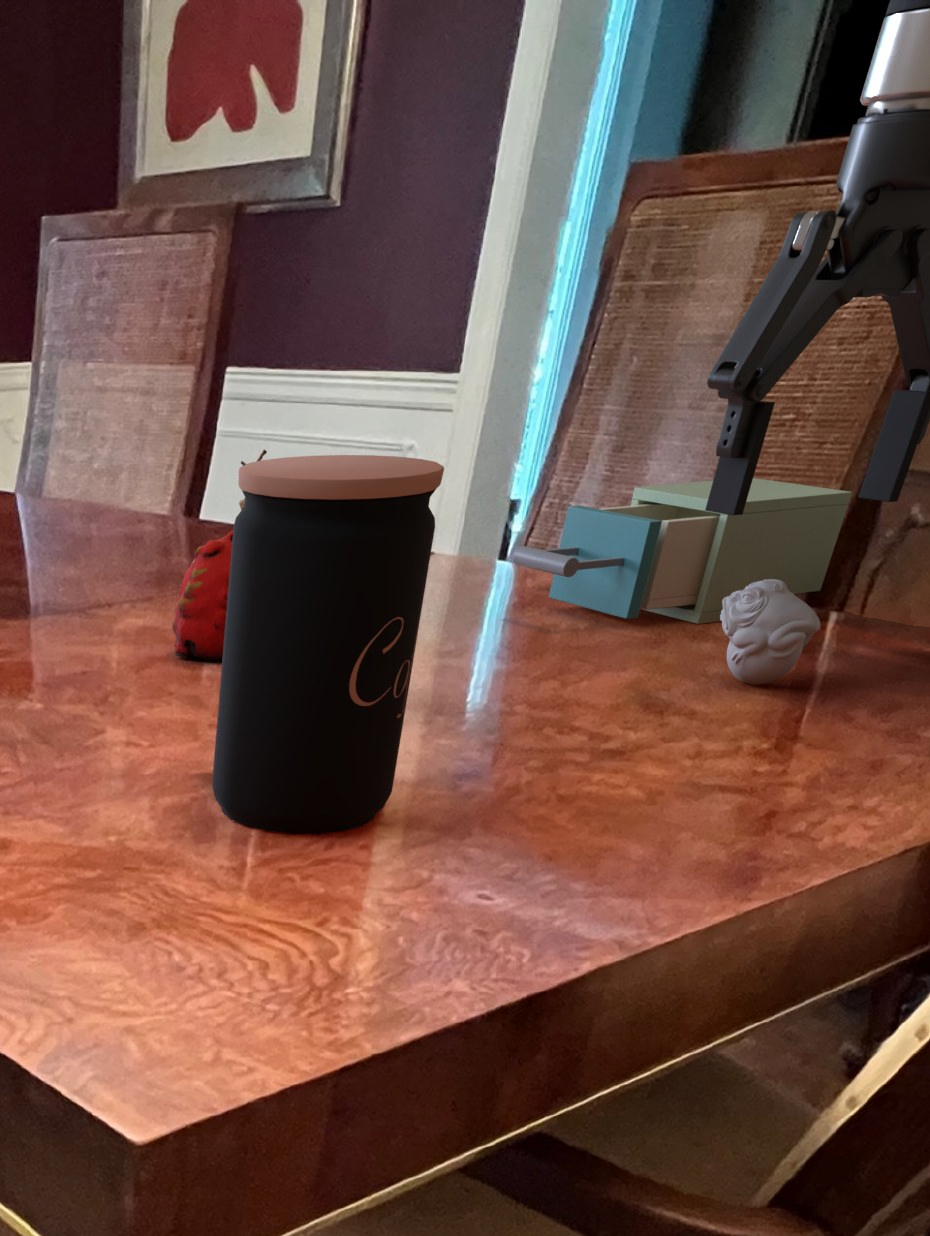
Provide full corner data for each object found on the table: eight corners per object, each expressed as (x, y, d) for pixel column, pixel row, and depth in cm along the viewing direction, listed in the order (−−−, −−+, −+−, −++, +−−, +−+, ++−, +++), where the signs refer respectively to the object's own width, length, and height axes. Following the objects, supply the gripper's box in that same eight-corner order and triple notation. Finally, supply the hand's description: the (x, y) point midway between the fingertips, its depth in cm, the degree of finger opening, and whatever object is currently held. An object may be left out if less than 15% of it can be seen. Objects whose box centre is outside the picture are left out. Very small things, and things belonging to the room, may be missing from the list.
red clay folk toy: (199, 642, 120) (214, 442, 111) (272, 650, 116) (294, 445, 107) (157, 659, 115) (169, 452, 106) (232, 668, 112) (251, 455, 102)
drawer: (565, 625, 116) (587, 527, 112) (490, 604, 124) (508, 511, 120) (735, 606, 120) (763, 511, 116) (652, 586, 128) (675, 496, 124)
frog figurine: (713, 669, 107) (741, 570, 103) (810, 680, 103) (844, 578, 99) (689, 685, 103) (718, 583, 99) (789, 697, 100) (823, 592, 95)
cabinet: (697, 624, 119) (731, 503, 114) (607, 600, 128) (634, 487, 123) (814, 610, 122) (852, 491, 117) (718, 588, 131) (749, 477, 126)
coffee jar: (354, 849, 77) (409, 482, 66) (181, 822, 82) (206, 474, 71) (411, 797, 84) (469, 457, 73) (249, 774, 89) (281, 452, 78)
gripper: (811, 102, 77) (695, 525, 90) (1136, 102, 83) (984, 500, 96) (714, 114, 83) (619, 511, 96) (1025, 114, 89) (896, 488, 102)
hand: (801, 506), depth 96 cm, fingers open, 13 cm apart
